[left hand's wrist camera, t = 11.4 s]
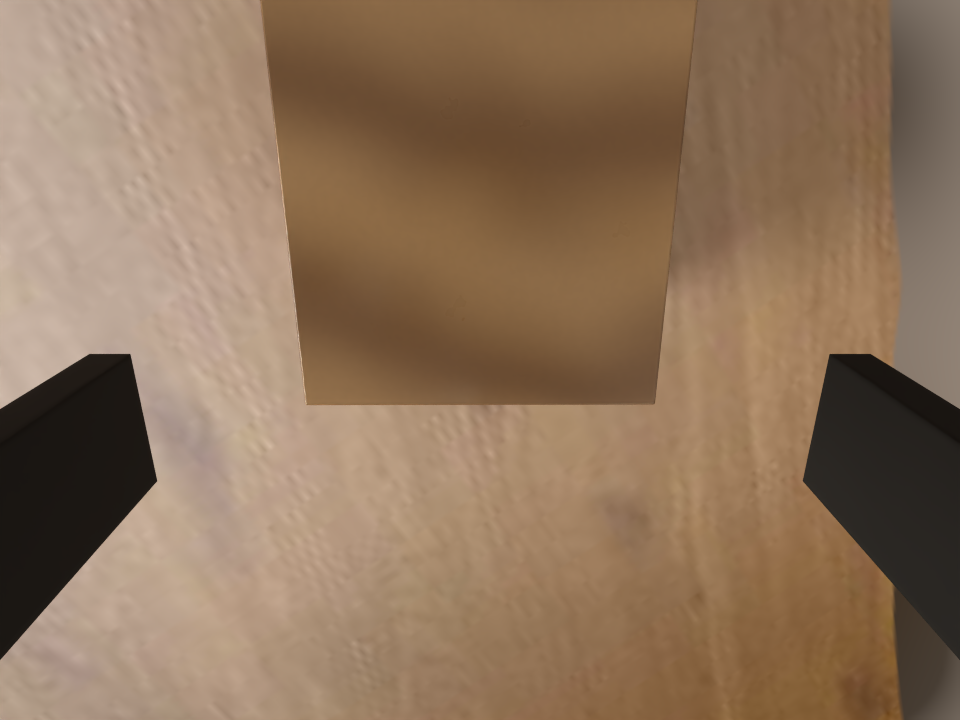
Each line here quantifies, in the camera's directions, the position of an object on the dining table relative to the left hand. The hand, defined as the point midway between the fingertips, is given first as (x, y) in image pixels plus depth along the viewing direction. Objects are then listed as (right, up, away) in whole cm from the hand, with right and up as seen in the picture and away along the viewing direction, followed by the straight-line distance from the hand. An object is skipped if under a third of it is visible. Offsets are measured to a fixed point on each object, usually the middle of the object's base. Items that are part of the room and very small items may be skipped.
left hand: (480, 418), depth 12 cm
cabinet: (0, +12, +15) cm, 19 cm away
